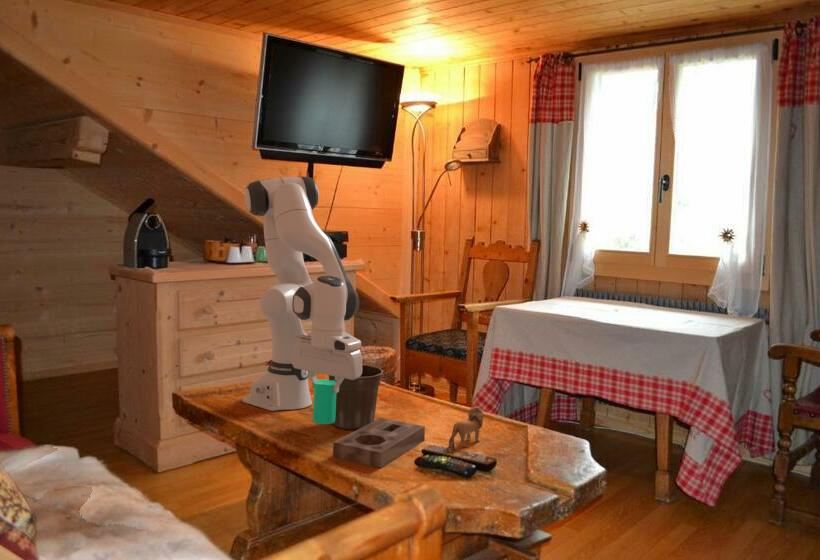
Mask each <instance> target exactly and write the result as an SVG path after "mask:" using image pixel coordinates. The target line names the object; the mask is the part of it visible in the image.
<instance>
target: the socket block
mask: <svg viewBox="0 0 820 560" xmlns="http://www.w3.org/2000/svg"><path fill="white" fill-rule="evenodd" d="M425 433H426V426H425V425H420V424H415V423H409V422H406V421H405V422H404V421H399V420H393V419H388V418H383V417H382V418H381V417H379V418H377V419H376V420H375V419H374V422H372V423H370V424H368V425H366V426H364V427H362V428H357V429H355V431H354V430H353V432H350V433H349V434H346V435H344V436H343V437H340V438H339V439H337V440H335V441H333V442H332V458H334V459H338V460H341V461H347V462H351V463H356V464H360V465H365V466H369V467H373V468H377V469H382V468H384V467H385V466H387V465H389V464H390V463H392V462H394V461H395V460H397V459H398V458H399V457H402V455H403V456H404V454H406V453H407V452H409V451H410V450H412V449H414V448H416V447H417V446H418V445H420V444H421V443H423V442H424V441H425V437H426V436H425Z"/></svg>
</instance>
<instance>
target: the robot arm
mask: <svg viewBox="0 0 820 560" xmlns="http://www.w3.org/2000/svg"><path fill="white" fill-rule="evenodd" d="M319 197H320V191H319V188H318V185H317V182H316V181H315V179H313V178H312V177H310V176H299V177H298V176H297V177H296V176H283V177H282V176H281V177H278V178H270V179H265V180H261V181H260V180H256V181H253V182H250V183H248V184H247V186H246V188H245V192H244V202H245V205H246V207H247V209H248V211H249V213H250V214H251V215H253V216H255V217H263V237H264V245H265V251H266V257H267V258H266V260H267V265H268V267H269V268H270V269H271V270H272V271H273V273H274V275H275V277H276V279H277V282H278V283H277V284H274V285H272V286H271V287H269V288H267V289H266V290H264V292H263V293H261V295H260V297H259V309H260V311H261V313H262V314H263V315H264V316H265V318H266V319H267V322H268V325H269V329H270V333H271V344H272V345H271V346H272V347H271V350H272V351H271V353H272V354H271V355H272V357H271V358H272V359H270V360H269V361H266V362H264V363H265V365H264V366H265V367H266V366H268V367H267V370H266V371H265V372H264V373H262V374H261V375H260V376H259V377H257V378H256V379H254V380H253V381H252V383H251V385H250V389H249V394H247V395H245V396H243V398H242V403H244V404H249V405H252V406H255V407H258V408H261V409H265V410H268V411H271V412H274V411H281V410H282V411H285V410H286V411H287V410H300V409H304V408H307V407H310V406H311V405H313V401H312V396H311V392H310V386H309V385H310V384H309V379H310V382H311V388H312V389H314V384H315V381H317V380H318V378H317V374H322V375H326V376H329V375H331V376H335V380H337V381H336V383H335V385H334V386H333V389H332V391H333V392H334V393H337V392H339V385H340V384H341V383H342V381H343V380H344V378H345V379H350V380H355V379H357V378H359V377H360V376H361V375H362V364H363V356H362V351H360V349H361V347H362V341H361V340H360V339H358V338H356V337H355V336H353V335H352V334H349V333H348V332H346V325H345V321H349V320H350V319H352V318H353V317H354V316H355V315H356V313H357V312H358V310H359V308H360V298H359V295H358V292H357V291H356V289H355V287H354V286H353V284H352V283H351V280H350V278H349V276H348V275H347V272H346V269H345V267H344V265H343V263H342V260H341V257H340V256H339V253H338V251H337V248H336V246H335V244H334V242H333V241H332V239H331V237H330V236H329V235H327V234H326V233H325V232H324V231H323V230H322V228H320V226H319V224H318V223H317V221H316V219H315V217H314V213H313V210H314V209H315V208H316V207H317V205H318V203H319V199H320V198H319ZM304 254H305V255H307V256H309V257H312V258H314V259H315V260H316V261H318V262H319V263H320V265H321V266H322V268H323V271H324V273H325V275H320V276H318V277H316V278H315V279H314V282H313V281H312V279H311V277H310V275H309V274H310V273H309V271H308V269H307V267H306V263H305V260H304ZM302 321H307V322H310V321H311V327H310V335H308V334H307V333H306V331H304V328H303V324H302ZM319 382H320V381H319ZM317 383H318V382H317Z"/></svg>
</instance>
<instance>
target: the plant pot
mask: <svg viewBox="0 0 820 560" xmlns="http://www.w3.org/2000/svg"><path fill="white" fill-rule="evenodd" d="M383 374H384V370H383V369H382V368H380V367H378V366H375V365H374V366H373V365H370V364H363V363H362V375H361V376H360V377H359V378H357V379H355V380H350V379H345V378H344V380H343V381H342V383H341V384H340V385H339V392H337V393H336V412H335V422H333V423H332V424H333V425H334V426H335V427H336V428H339V429H342V430H350V431H351V430H353V431H354V430H355V431H356V430H357V429H360V428H362V427H364V426H366V425H368V424H370V423H372V422H374V421H375V417H376V416H375V415H376V410H377V409H376V408H377V402H378V401H377V400H378V394H379V387H380V386H381V380H382V376H383ZM328 380H330V381H335V382H336V381H337V380H335V376H331V375H328Z"/></svg>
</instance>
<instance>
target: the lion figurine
mask: <svg viewBox="0 0 820 560" xmlns="http://www.w3.org/2000/svg"><path fill="white" fill-rule="evenodd" d="M483 414H484V412H483V410H482V409H481V407H479V406H473V407H471V408H470V409H469V411H468V413H467V416H468V418H467V420H465V421H464V420H463V421H462V420H460V421H457V422H455V423H454V425H453V427H452V428H453V429H452V432H451V436H450V437H449V441H448V447H450V448H451V449H452V450H453V449H455V446H456V445H455V437H456V436H457V435H459V438H460V444H461V446H462V448H468V444H466V443H465V439H466V441H471V438H472V437H471V434H472V433H474V442H476V443H480V439H479V436H480V429H481V428H482V427H483V421H484V419H483V417H484V415H483Z"/></svg>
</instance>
